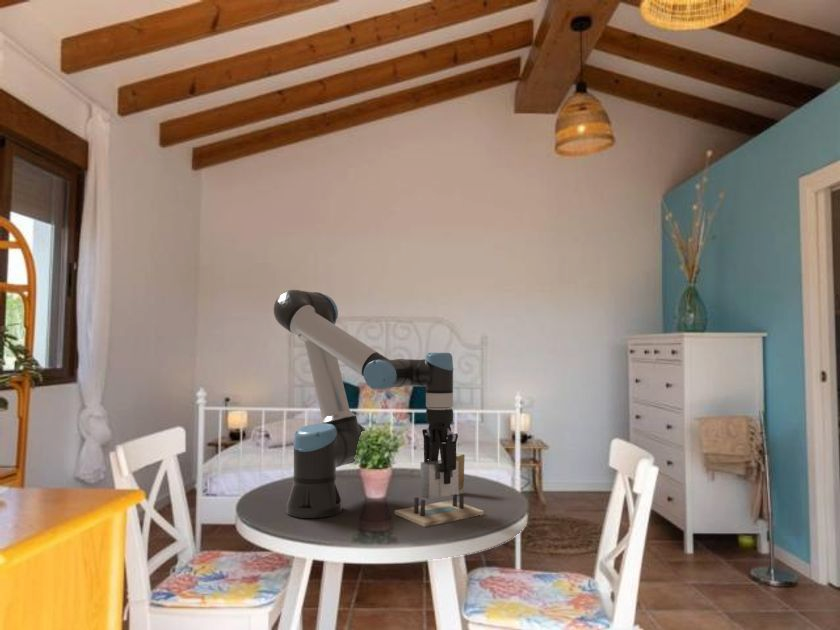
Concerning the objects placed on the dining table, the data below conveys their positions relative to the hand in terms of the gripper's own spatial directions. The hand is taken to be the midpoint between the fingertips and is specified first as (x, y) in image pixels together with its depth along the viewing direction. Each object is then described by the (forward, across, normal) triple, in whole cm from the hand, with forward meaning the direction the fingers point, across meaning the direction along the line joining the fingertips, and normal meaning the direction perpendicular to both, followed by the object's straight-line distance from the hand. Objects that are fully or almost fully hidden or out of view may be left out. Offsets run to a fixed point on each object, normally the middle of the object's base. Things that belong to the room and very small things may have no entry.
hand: (439, 493), depth 163 cm
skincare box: (+6, +17, -18) cm, 25 cm away
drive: (0, 0, 0) cm, 0 cm away
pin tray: (+6, 0, 0) cm, 6 cm away
